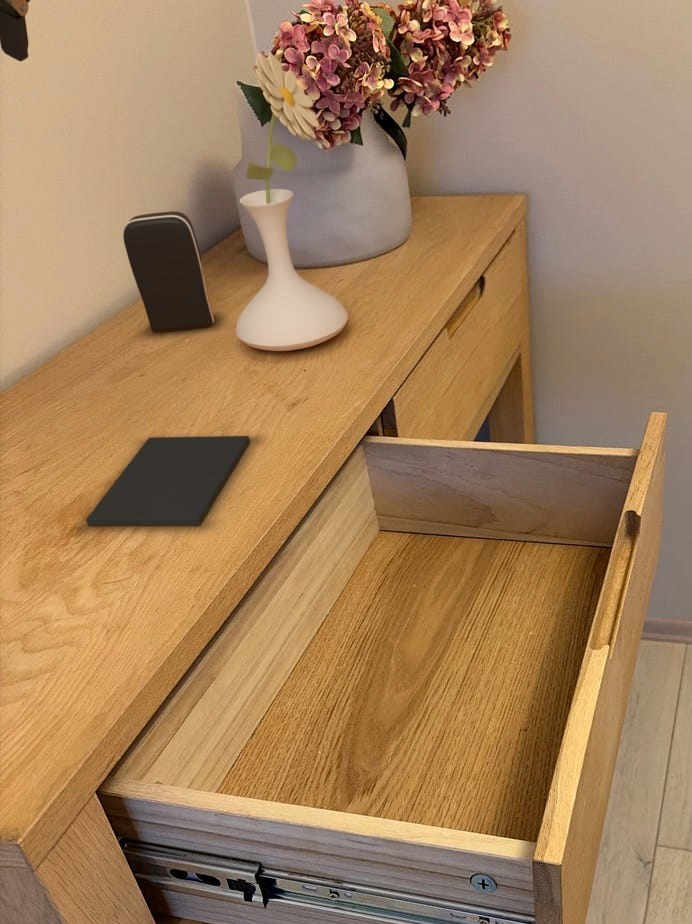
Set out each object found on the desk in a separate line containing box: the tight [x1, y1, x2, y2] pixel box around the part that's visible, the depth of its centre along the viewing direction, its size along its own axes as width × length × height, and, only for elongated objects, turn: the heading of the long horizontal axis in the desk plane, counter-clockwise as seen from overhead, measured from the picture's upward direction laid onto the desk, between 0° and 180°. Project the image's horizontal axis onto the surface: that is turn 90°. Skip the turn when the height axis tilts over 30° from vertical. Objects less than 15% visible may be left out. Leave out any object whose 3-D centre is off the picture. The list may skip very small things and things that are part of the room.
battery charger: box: [122, 210, 215, 333], centre depth 102 cm, size 7×4×11 cm, turn 97°
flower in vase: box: [235, 52, 349, 352], centre depth 93 cm, size 13×11×25 cm
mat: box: [85, 435, 251, 527], centre depth 79 cm, size 9×13×1 cm
